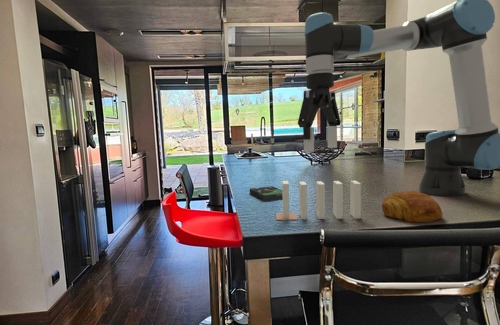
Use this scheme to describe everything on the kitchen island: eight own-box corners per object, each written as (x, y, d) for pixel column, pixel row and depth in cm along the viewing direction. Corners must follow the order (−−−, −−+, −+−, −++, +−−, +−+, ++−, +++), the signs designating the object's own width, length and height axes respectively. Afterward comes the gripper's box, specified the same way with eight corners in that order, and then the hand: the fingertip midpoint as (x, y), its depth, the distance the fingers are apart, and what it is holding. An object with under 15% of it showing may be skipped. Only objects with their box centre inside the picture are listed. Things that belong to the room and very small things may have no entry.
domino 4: (338, 213, 93) (338, 180, 92) (342, 218, 88) (342, 183, 87) (333, 214, 93) (333, 181, 92) (336, 218, 88) (336, 184, 87)
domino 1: (282, 213, 94) (282, 180, 93) (288, 213, 94) (287, 180, 93) (283, 218, 89) (283, 183, 88) (289, 218, 89) (288, 183, 88)
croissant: (375, 217, 96) (372, 192, 95) (424, 208, 96) (421, 183, 96) (400, 231, 81) (396, 202, 81) (457, 221, 82) (454, 191, 81)
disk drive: (249, 195, 126) (263, 202, 112) (248, 188, 126) (263, 194, 112) (272, 192, 130) (289, 199, 116) (271, 186, 130) (289, 191, 116)
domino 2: (305, 214, 94) (304, 181, 93) (307, 219, 89) (306, 184, 88) (299, 214, 94) (299, 181, 93) (301, 219, 89) (301, 184, 88)
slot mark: (295, 213, 95) (295, 212, 95) (297, 220, 88) (297, 219, 88) (275, 213, 95) (275, 212, 95) (276, 220, 88) (276, 219, 88)
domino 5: (355, 213, 93) (355, 180, 92) (360, 218, 88) (360, 183, 87) (350, 213, 93) (350, 180, 92) (354, 218, 88) (355, 183, 87)
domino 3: (321, 214, 93) (321, 181, 92) (324, 218, 88) (324, 184, 87) (316, 214, 93) (316, 181, 92) (319, 219, 88) (319, 184, 87)
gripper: (328, 79, 98) (329, 146, 101) (282, 71, 80) (285, 153, 82) (351, 76, 93) (352, 146, 96) (308, 66, 75) (310, 154, 77)
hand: (321, 149), depth 89 cm, fingers open, 13 cm apart
